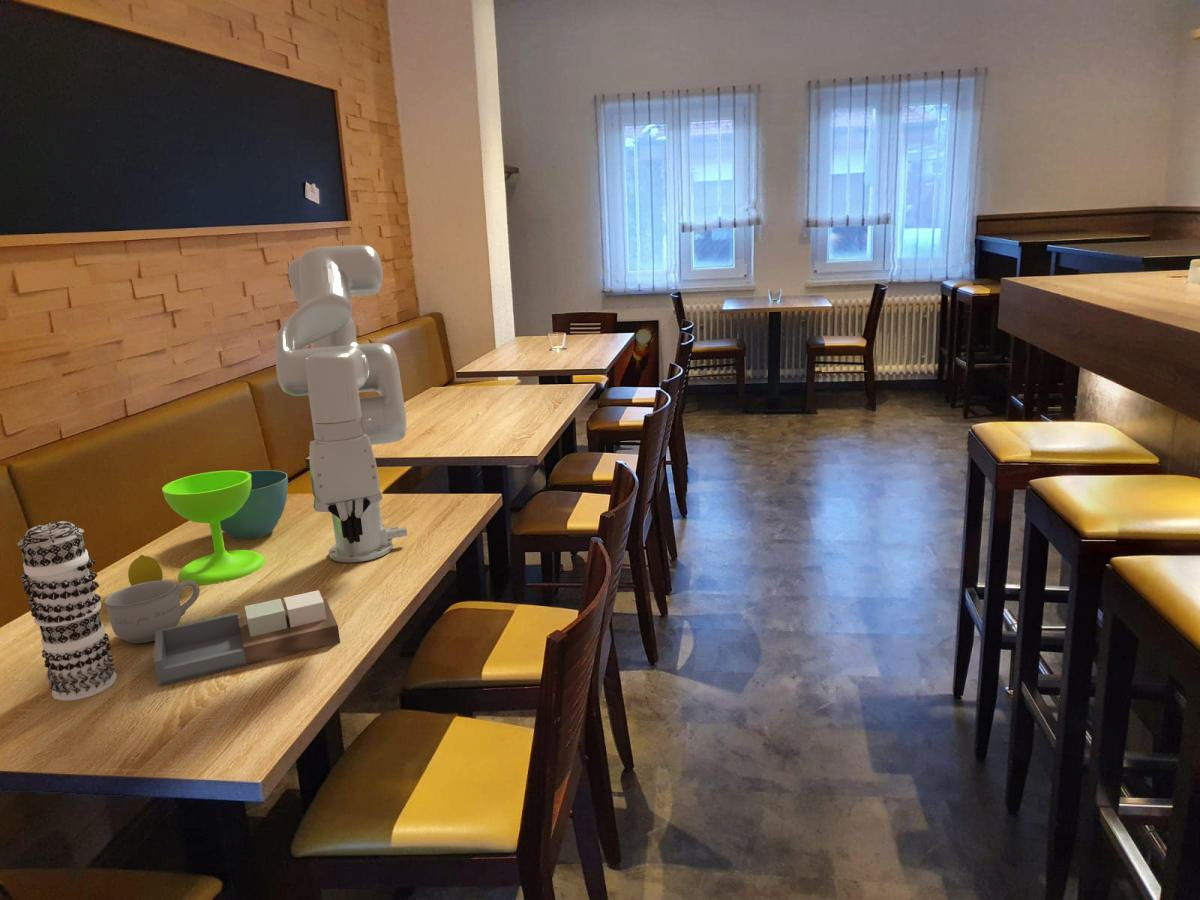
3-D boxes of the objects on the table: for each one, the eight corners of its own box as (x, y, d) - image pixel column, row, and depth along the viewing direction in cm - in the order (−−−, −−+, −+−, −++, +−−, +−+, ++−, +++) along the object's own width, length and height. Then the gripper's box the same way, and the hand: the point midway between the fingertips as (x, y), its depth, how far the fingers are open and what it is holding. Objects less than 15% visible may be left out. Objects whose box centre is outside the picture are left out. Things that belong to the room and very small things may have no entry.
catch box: (240, 634, 141) (236, 612, 140) (246, 665, 131) (242, 641, 130) (160, 653, 136) (155, 630, 135) (159, 686, 126) (154, 662, 125)
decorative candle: (97, 665, 134) (63, 513, 127) (133, 677, 129) (99, 520, 123) (36, 693, 126) (-4, 533, 120) (71, 707, 121) (32, 542, 115)
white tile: (321, 606, 143) (318, 590, 142) (326, 619, 138) (323, 602, 138) (286, 614, 141) (283, 597, 140) (290, 627, 136) (287, 610, 135)
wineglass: (281, 554, 177) (268, 470, 172) (232, 586, 162) (216, 495, 157) (214, 552, 181) (199, 470, 176) (160, 582, 166) (142, 493, 161)
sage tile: (283, 615, 141) (280, 598, 140) (287, 628, 136) (284, 610, 135) (247, 623, 138) (244, 606, 138) (250, 636, 134) (247, 619, 133)
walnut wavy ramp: (328, 614, 147) (325, 598, 146) (340, 642, 137) (337, 624, 136) (240, 634, 141) (237, 617, 141) (246, 665, 131) (243, 647, 130)
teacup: (112, 656, 136) (102, 610, 134) (114, 630, 146) (105, 587, 144) (207, 634, 142) (199, 589, 140) (203, 610, 152) (195, 568, 150)
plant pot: (190, 541, 188) (180, 487, 185) (260, 516, 203) (252, 466, 200) (242, 554, 179) (233, 497, 175) (312, 526, 193) (304, 474, 190)
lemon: (152, 602, 157) (144, 561, 154) (126, 601, 158) (117, 560, 156) (172, 589, 162) (164, 550, 160) (147, 588, 163) (139, 549, 161)
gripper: (381, 420, 142) (394, 525, 146) (286, 433, 136) (302, 543, 140) (391, 427, 135) (404, 537, 140) (292, 441, 129) (309, 556, 133)
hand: (353, 540), depth 140 cm, fingers closed
